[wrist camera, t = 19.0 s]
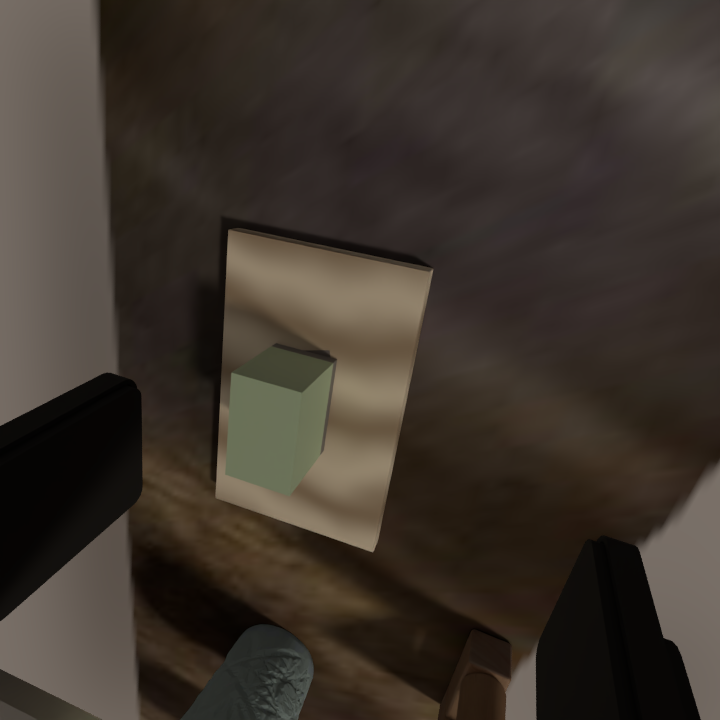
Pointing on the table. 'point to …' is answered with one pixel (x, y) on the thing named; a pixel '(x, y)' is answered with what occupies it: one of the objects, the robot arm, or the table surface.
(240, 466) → the block
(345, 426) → the birch board
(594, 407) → the table surface
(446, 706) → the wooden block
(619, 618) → the robot arm
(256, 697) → the blue cup
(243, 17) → the table surface
